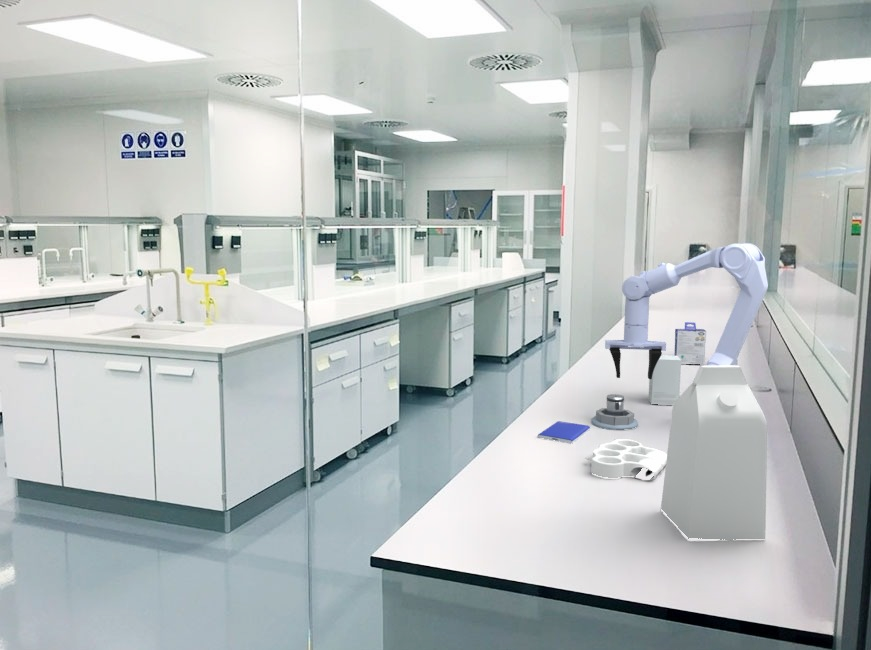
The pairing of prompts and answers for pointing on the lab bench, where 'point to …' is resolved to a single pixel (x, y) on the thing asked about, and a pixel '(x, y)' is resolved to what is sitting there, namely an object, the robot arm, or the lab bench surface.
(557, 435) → the hard drive
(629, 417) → the collar
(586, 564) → the lab bench surface
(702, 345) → the ink cartridge box
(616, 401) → the silver metal canister
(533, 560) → the lab bench surface
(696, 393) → the milk
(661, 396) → the supplement box
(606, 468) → the white holed flat tray
